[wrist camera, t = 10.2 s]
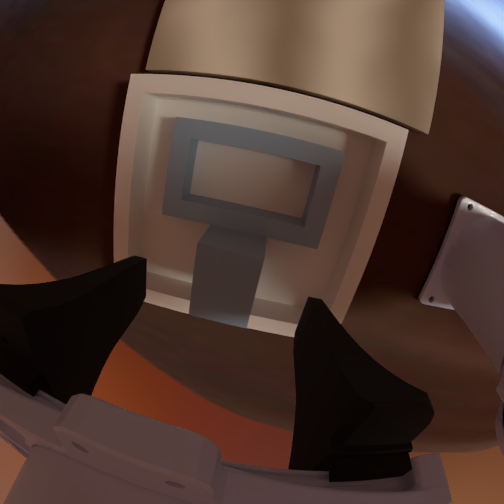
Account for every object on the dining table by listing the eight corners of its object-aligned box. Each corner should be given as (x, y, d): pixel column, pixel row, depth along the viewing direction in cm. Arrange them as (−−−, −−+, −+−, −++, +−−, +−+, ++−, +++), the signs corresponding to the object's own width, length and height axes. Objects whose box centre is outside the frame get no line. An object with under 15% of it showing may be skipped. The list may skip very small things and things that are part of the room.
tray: (390, 129, 14) (408, 130, 11) (326, 319, 19) (331, 343, 17) (150, 80, 14) (131, 73, 11) (131, 274, 19) (115, 292, 17)
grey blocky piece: (295, 297, 18) (298, 338, 14) (165, 266, 18) (140, 301, 14) (339, 150, 14) (359, 156, 10) (184, 117, 14) (155, 114, 10)
